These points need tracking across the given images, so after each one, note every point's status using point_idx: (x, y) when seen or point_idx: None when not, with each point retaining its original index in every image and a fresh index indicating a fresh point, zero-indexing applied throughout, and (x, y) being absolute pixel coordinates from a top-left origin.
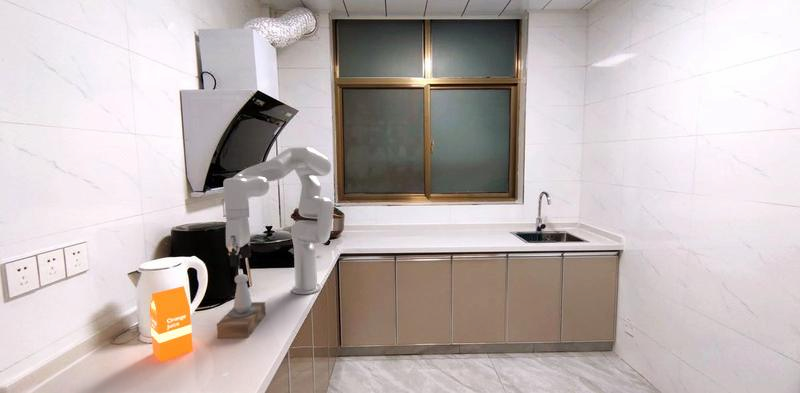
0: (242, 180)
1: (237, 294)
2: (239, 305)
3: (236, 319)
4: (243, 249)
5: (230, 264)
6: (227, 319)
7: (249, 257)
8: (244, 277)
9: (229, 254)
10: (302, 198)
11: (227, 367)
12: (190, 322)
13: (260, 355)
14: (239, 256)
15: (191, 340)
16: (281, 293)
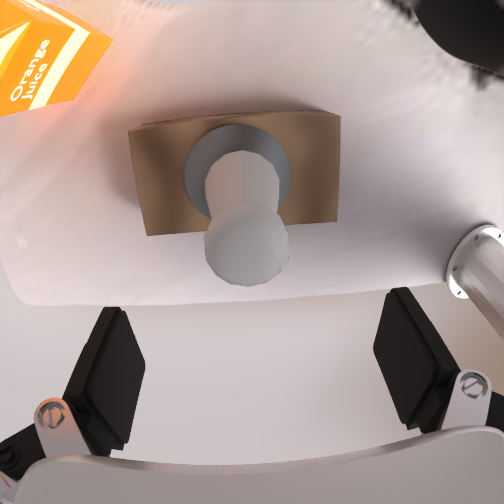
0: None
1: (213, 197)
2: (206, 191)
3: (172, 183)
4: (413, 375)
5: (101, 318)
6: (168, 149)
7: (377, 345)
8: (228, 280)
9: (42, 411)
10: None
11: (35, 233)
12: (23, 109)
13: (89, 279)
14: (124, 431)
15: (57, 101)
16: (473, 198)
